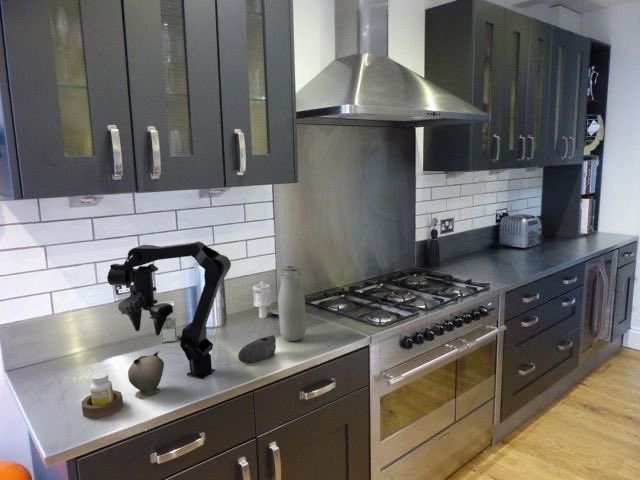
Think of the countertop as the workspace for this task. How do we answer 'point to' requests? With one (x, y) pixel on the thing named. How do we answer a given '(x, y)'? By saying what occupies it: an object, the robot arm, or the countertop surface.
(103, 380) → the supplement bottle
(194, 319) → the robot arm
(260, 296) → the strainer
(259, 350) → the perforated stone tool
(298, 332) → the grey bottle vase
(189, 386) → the countertop surface
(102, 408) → the walnut ring socket
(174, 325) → the syrup box
